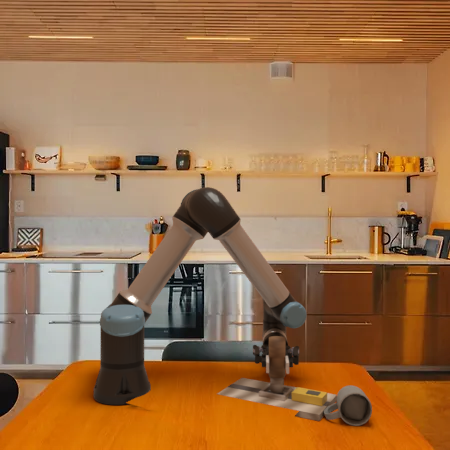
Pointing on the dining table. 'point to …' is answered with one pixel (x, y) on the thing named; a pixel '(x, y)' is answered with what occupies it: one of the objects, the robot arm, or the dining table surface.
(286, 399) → the subfloor panel
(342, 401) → the ceramic mug
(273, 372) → the brown tall rounded piece
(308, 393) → the block
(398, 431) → the dining table surface
